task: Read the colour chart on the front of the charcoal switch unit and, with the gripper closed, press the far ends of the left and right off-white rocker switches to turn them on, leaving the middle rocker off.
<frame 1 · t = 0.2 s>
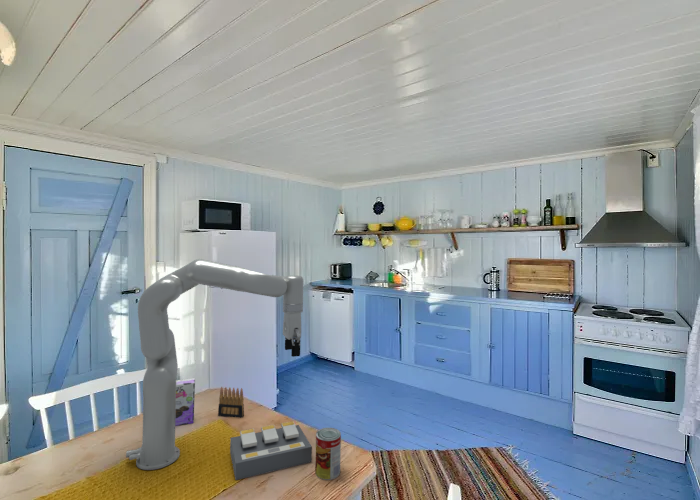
hand: (292, 352, 133), 31 cm above the table, tool pointing down, fingers open, 9 cm apart
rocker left: (248, 437, 116), point 7 cm above the table, hinge at 10.0°
canned food: (327, 472, 110), on the table
switch unit: (270, 457, 117), on the table
rocker middle: (269, 433, 119), point 7 cm above the table, hinge at 10.0°
rocker right: (289, 429, 121), point 7 cm above the table, hinge at 10.0°
ammunition clip: (230, 416, 146), on the table
candy box: (175, 423, 139), on the table
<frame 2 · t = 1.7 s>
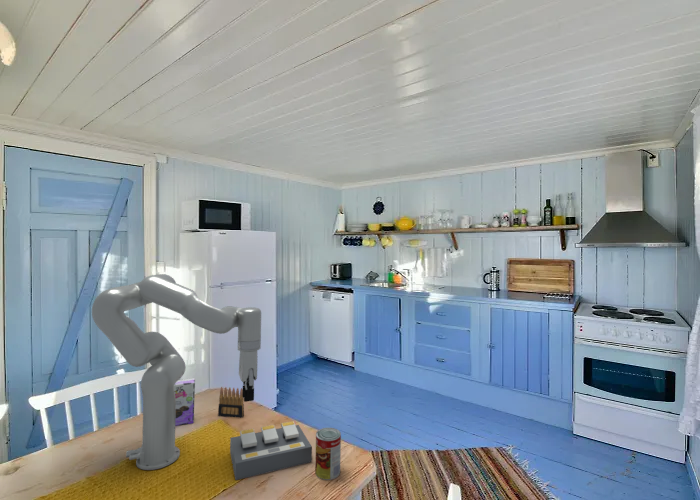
hand: (248, 398, 118), 19 cm above the table, tool pointing down, fingers closed
nothing on the table moved.
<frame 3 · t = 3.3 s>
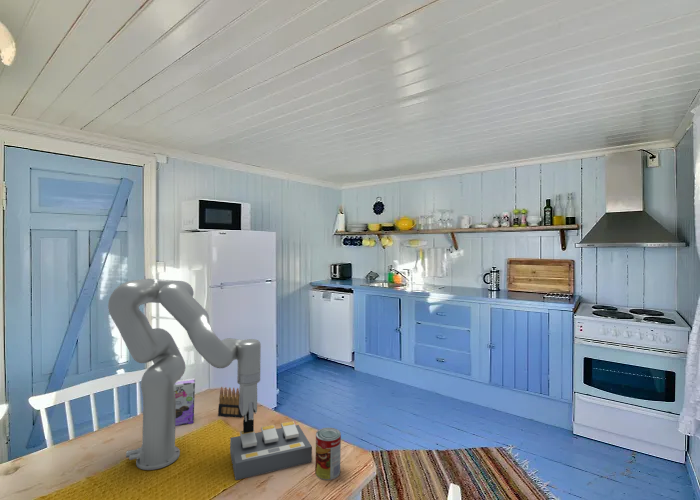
hand: (248, 431, 118), 8 cm above the table, tool pointing down, fingers closed
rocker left: (248, 437, 116), point 7 cm above the table, hinge at 9.8°, touching gripper
everything else where it was.
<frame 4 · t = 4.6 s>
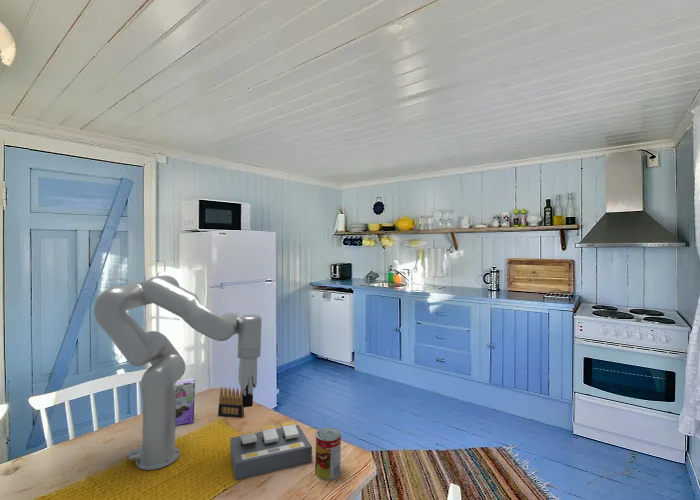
hand: (247, 405, 118), 17 cm above the table, tool pointing down, fingers closed
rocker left: (248, 437, 116), point 7 cm above the table, hinge at -11.5°
everything else where it was.
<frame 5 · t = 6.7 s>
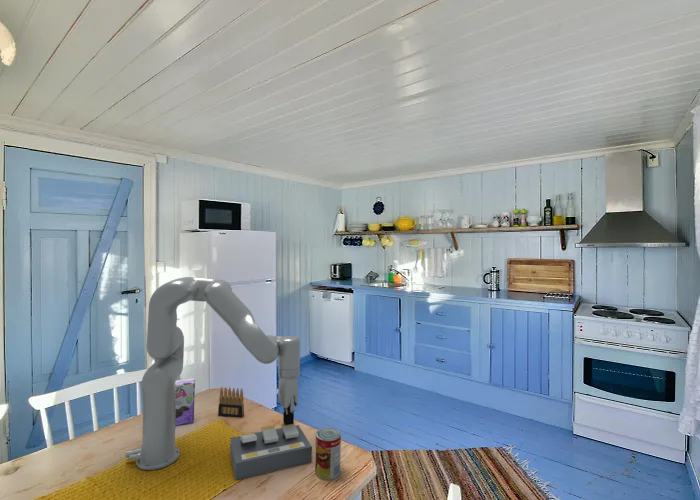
hand: (288, 423, 124), 8 cm above the table, tool pointing down, fingers closed
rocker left: (248, 437, 116), point 7 cm above the table, hinge at -16.6°
rocker right: (289, 429, 122), point 7 cm above the table, hinge at 7.3°, touching gripper
everything else where it was.
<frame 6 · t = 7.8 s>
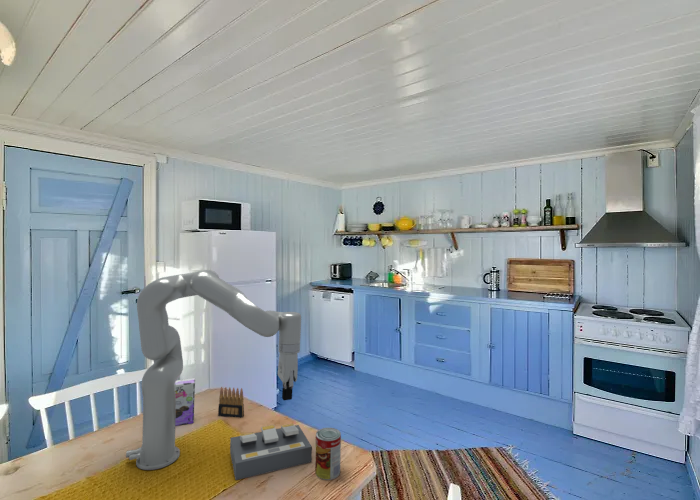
hand: (287, 398, 124), 17 cm above the table, tool pointing down, fingers closed
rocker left: (248, 437, 116), point 7 cm above the table, hinge at -17.0°
rocker right: (289, 429, 122), point 7 cm above the table, hinge at -7.6°
everything else where it was.
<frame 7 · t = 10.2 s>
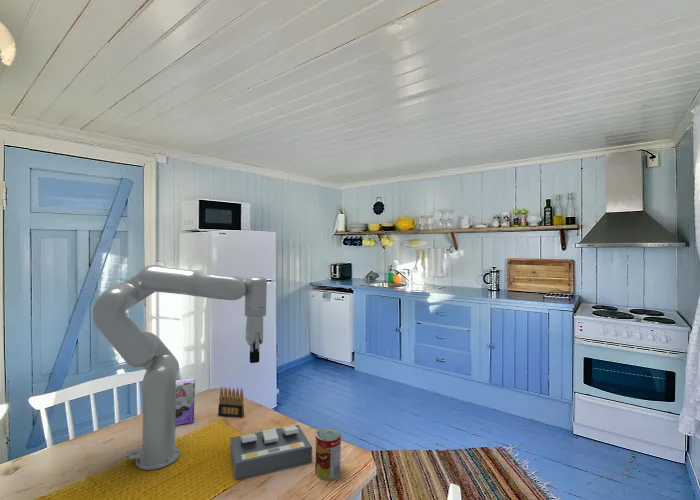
hand: (254, 362, 126), 29 cm above the table, tool pointing down, fingers closed
rocker right: (289, 429, 122), point 7 cm above the table, hinge at -13.0°
everything else where it was.
at the end: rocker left at -17° (first picture: +10°); rocker right at -13° (first picture: +10°); rocker middle at +10° (first picture: +10°) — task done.
